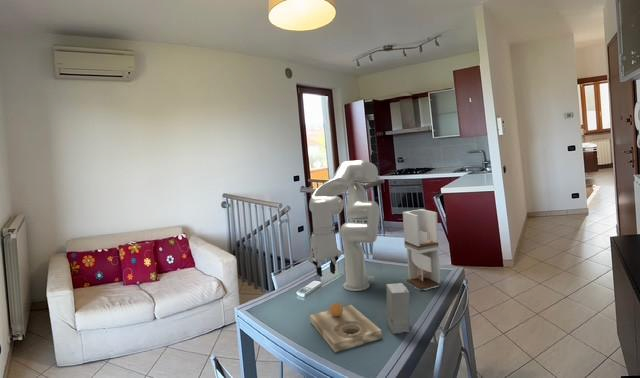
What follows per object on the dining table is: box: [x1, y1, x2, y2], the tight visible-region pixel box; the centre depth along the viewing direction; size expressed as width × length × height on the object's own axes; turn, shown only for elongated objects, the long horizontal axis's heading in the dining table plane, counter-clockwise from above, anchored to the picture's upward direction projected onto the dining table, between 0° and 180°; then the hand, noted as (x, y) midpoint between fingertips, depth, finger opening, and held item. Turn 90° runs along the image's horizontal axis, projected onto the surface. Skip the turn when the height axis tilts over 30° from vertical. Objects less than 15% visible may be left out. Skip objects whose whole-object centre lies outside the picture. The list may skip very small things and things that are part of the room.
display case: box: [402, 208, 441, 290], centre depth 169 cm, size 11×11×35 cm
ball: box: [329, 302, 344, 316], centre depth 141 cm, size 5×5×5 cm
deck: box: [309, 304, 383, 353], centre depth 136 cm, size 18×24×3 cm
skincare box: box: [385, 282, 410, 335], centre depth 133 cm, size 8×7×16 cm
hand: (326, 273), depth 147 cm, fingers open, 4 cm apart
